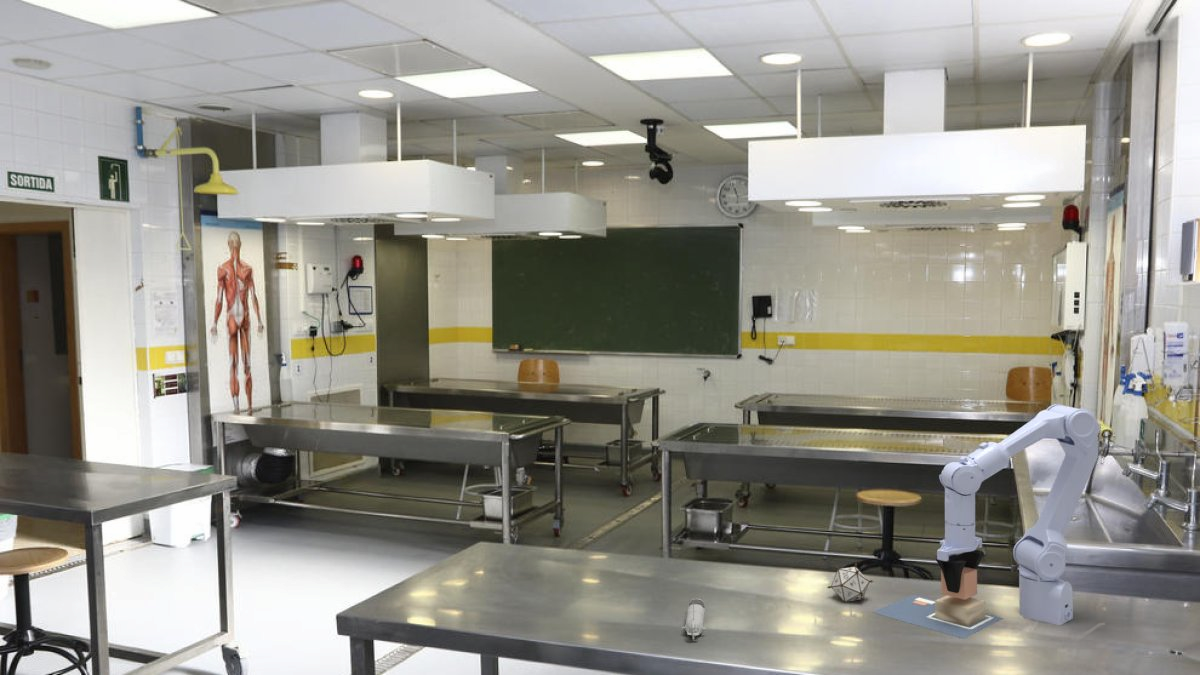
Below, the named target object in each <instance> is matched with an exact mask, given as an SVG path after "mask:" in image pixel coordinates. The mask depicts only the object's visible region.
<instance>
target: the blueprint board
mask: <svg viewBox="0 0 1200 675" xmlns="http://www.w3.org/2000/svg"><path fill="white" fill-rule="evenodd" d="M935 600H936V599H931V598H927V597H924V596H919V595H916V594H912V595H909V596H907V597H905V598H904V597H903V598H902V599H900V600H897V601H895V602H893V603H891V604H888V605H886V606H884V607H881V608H879V609H875V610H874V611H872V612H871V613H874V614H877V615H880V616H884V617H886V618H890V619H894V620H898V621H901V622H904V623H908V624H911V625H914V626H918V627H922V628H925V629H929V630H932V631H935V632H939V633H943V634H946V635H949V636H954V637H955V638H959V639H966V638H968V637H970V636H971V635H974V634H976V633H977V632H980V631H981V630H983V629H985V628H987V627H989V626H991V625H994V624H995V623H997V622H999V621H1000V620H1003V619H1004V618H1003V617H1001V616H997V615H993V614H989V613H986V612H985V618H984V619H982V620H980V621H978V622H976V623H974V624H972V625H970V626H964V625H961V624H957V623H953V622H950V621H946V620H943V619H939V618H935Z"/></svg>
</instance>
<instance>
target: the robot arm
mask: <svg viewBox="0 0 1200 675" xmlns="http://www.w3.org/2000/svg"><path fill="white" fill-rule="evenodd" d="M1101 429H1102V426H1101V424H1100V423H1099V421H1098V419H1097V417H1096V416H1095V414H1094V413H1093V412H1092V411H1090V410H1089V409H1085V408H1077V407H1072V406H1067V405H1065V404H1061V403H1055V404H1051V405H1050V406H1048V407H1047V408H1046V409H1043V410H1041V411H1039V412H1038V413H1037V414H1036V416H1035V417H1034V418H1032V419H1031V420H1029V421H1028V422H1027V423H1025V424H1024V425H1022V426H1021V427H1020V428H1018V429H1016V430H1015V431H1014V432H1013V433H1011V434H1010V435H1008V436H1007V437H1005V438H1004V439H1003V440H1002V441H1001V440H1000V441H999V442H998V443H997V442H994V441H989V442H982V443H980V444H979V445H978V446H979V448H978V449H976V450H974V451H973V452H971V453H969V454H968V455H966V456H965V455H962V456H961V457H960V458H959V461H955V462H954V461H952V462H949V463H947V464H946V465H945V466H944V467H943V469H942V470H941V473H940V474H939V475H938V476H939V477H938V478H939V481H940V483H941V485H942V486H943V487H944V539H942V540H939V544H940V545H941V547H940V548H938V549H937V550H936V556H935V561H936V564H938V566H939V567H940V571H941V570H942V573H943V575H944V579H945V583H946V586H947V590H948V591H950V592H954V593H959V589H960V583H961V575H962V571H963V568H964V567H967V568H972V569H976V570H977V571H978V568H979V565H980V563H981V561H982V560H983V558H984V556H985V552H984V551H982V550H978V549H981V548H983V538H981V537H978V536H976V493H977V491H979V489H980V487H981V485H982V482H984V481H985V480H987V479H989V478H990V477H992V476H993V475H995V474H997V473H998V472H1000V471H1001V470H1003V469H1005V468H1006V467H1007V466H1009V464H1010V458H1011V457H1013V456H1014V455H1017V454H1018V453H1020V452H1022V451H1023V450H1025V449H1027V448H1028V447H1031V446H1032V445H1034V444H1037V442H1040V441H1041V440H1043V439H1056V440H1057V441H1058V443H1059V445H1060V446H1061V448H1062V450H1063V452H1064V454H1065V455H1064V458H1063V460H1062V462H1061V465H1060V467H1059V469H1058V472H1057V474H1056V477H1055V479H1054V482H1053V484H1052V486H1051V487H1050V491H1049V493H1048V495H1047V497H1046V500H1045V502H1044V505H1043V507H1042V510H1041V512H1040V514H1039V516H1038V519H1037V521H1036V523H1035V525H1033V526H1031V527H1029V528H1028V529H1026V530H1025V533H1024V535H1023V536H1022V537H1021V538H1020V539H1019V540H1018V541H1017V542H1016V543H1015V545H1014V547H1013V550H1012V554H1013V559H1014V561H1015V562H1016V563H1017V565H1018V571H1019V572H1018V574H1019V575H1018V576H1019V579H1018V580H1019V581H1018V582H1019V584H1018V585H1019V586H1018V587H1019V588H1018V589H1019V591H1018V592H1019V596H1018V597H1019V598H1018V599H1019V604H1018V605H1019V606H1018V608H1019V609H1018V613H1019V615H1020V616H1021V617H1023V618H1025V619H1029V620H1031V621H1037V622H1043V623H1047V624H1051V625H1055V626H1056V625H1057V626H1062V625H1064V624H1066V623H1067V622H1069V621H1071V620H1073V619H1074V593H1073V592H1074V591H1073V586H1072V583H1070V581H1066V580H1063V579H1062V578H1060V577H1061V576H1062V575H1063V574H1064V572H1065V569H1066V564H1067V563H1066V556H1067V553H1068V551H1069V548H1068V544H1067V541H1066V538H1065V534H1066V532H1067V529H1068V528H1069V525H1070V523H1071V521H1072V518H1073V516H1074V514H1075V511H1076V509H1077V506H1078V504H1079V503H1080V499H1081V497H1082V494H1083V493H1084V490H1085V488H1086V486H1087V484H1088V481H1089V478H1090V476H1091V474H1092V472H1093V469H1094V467H1095V465H1096V463H1097V460H1098V458H1099V457H1098V456H1099V449H1098V448H1099V446H1098V445H1099V443H1098V439H1099V438H1098V435H1099V433H1100V432H1101ZM977 548H978V549H977Z"/></svg>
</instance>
